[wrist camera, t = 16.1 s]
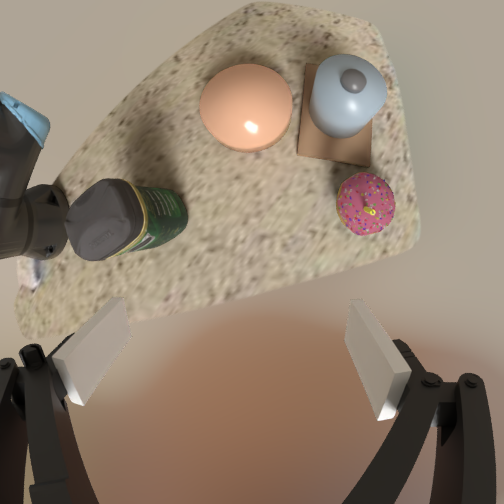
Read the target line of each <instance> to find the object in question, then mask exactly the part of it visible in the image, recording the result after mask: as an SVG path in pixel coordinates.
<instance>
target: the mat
mask: <svg viewBox="0 0 504 504" xmlns="http://www.w3.org/2000/svg"><path fill="white" fill-rule="evenodd" d="M319 66H320V65H314V64H307V63H306V71H305V82H304V94H303V104H302V114H301V124H300V134H299V143H298V152H297V155H298V156H305V157H312V158H318V159H324V160H330V161H336V162H342V163H347V164H353V165H358V166H363V167H370V155H371V138H372V119H371V120H370V121H369V122H368V123H367V124H366V125H365V126H364V128H363V129H362V130H361V131H360V132H359V133H358V134H356V135H355V136H352V137H350V138H341V139H340V138H334V137H331V136H328V135H326V134H324V133H323V132H321V131H320V130H319V129H318V128H317V127H316V126H315V124H314V123H313V121H312V119H311V117H310V114H309V103H310V99H311V94H312V90H313V86H314V81H315V77H316V72H317V69H318V67H319Z"/></svg>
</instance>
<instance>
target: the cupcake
mask: <svg viewBox="0 0 504 504" xmlns="http://www.w3.org/2000/svg"><path fill="white" fill-rule="evenodd" d="M395 204H396V203H395V200H394V195H393V192H392V190H391V189H390V187H389V185H388V184H387V183H386V182H385V180H383V179H381V178H380V177H378V176H376V175H374V174H370V173H367V172H359V173H357V174H355V175H352V176H351V177H350V178H348V179H347V180H345V181H344V182H342V184H341V186H340V189H339V191H338V195H337V200H336V209H337V213H338V216H339V218H340V220H341V222H342V223H343V224H344V225H345V226H346V227H347V228H348V229H350V230H351V231H352V232H353V233H355V234H357V235H361V236H365V235H368V234H373V233H377V232H380V231H381V230H383V229H384V228H385V227H386V226H388V225H389V224H390V222H391V220H392V218H393V217H394V216H393V215H394V211H395Z"/></svg>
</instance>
